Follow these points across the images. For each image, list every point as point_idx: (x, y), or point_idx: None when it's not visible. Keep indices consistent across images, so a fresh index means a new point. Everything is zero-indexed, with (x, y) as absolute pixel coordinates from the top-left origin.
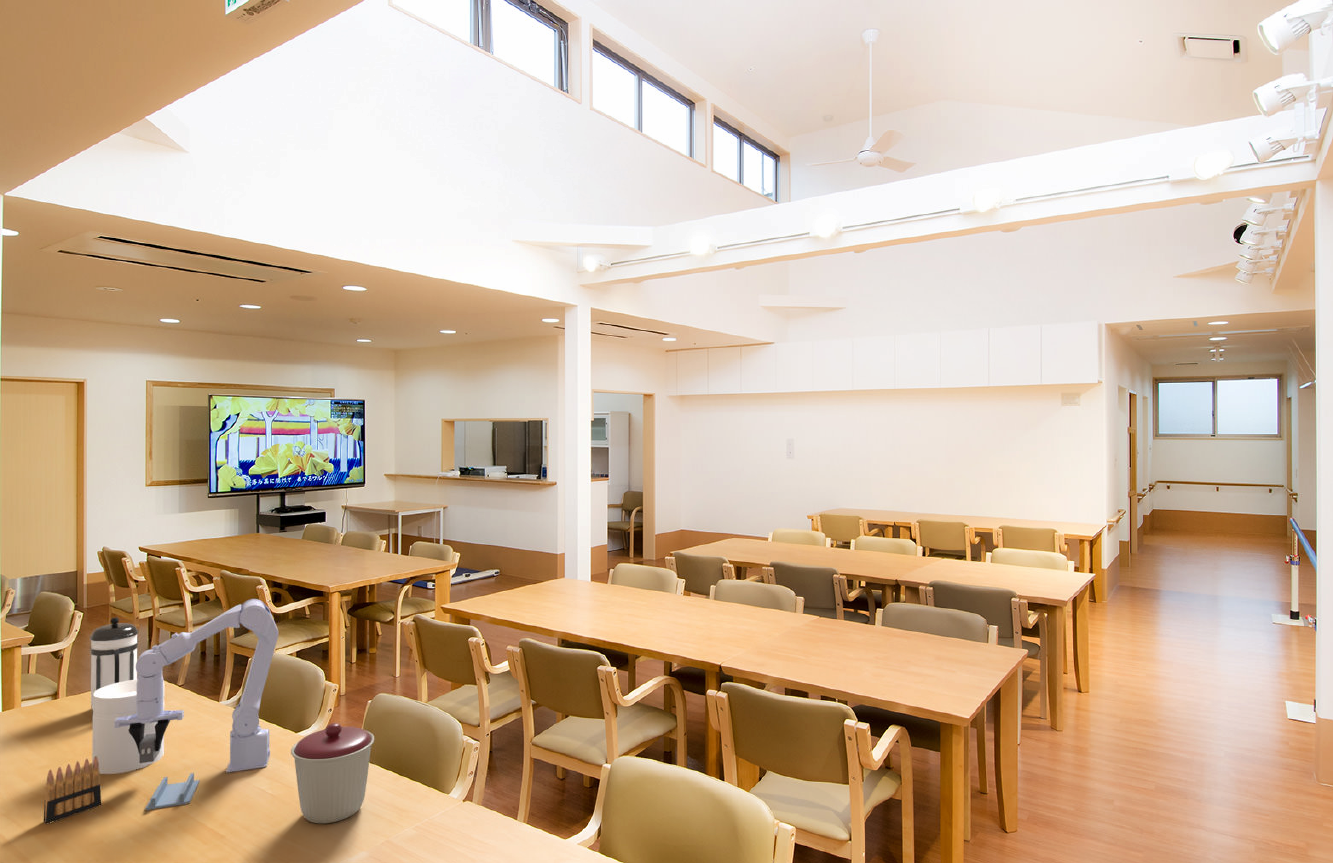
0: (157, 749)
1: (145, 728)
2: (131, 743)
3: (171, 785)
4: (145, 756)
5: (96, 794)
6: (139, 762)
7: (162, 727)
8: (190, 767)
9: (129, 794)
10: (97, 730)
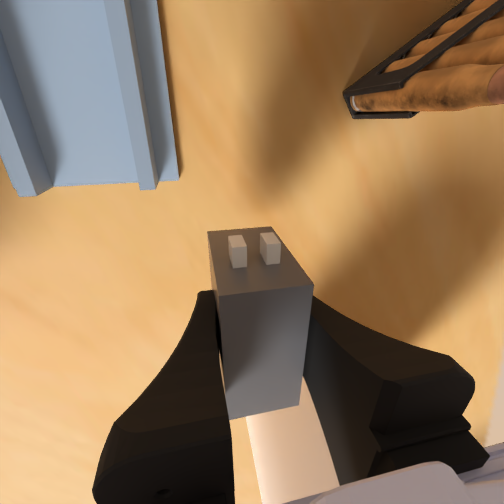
0: (203, 294)
1: (313, 470)
2: None
3: (123, 167)
4: (251, 242)
5: (386, 77)
6: (272, 228)
7: (138, 427)
8: (131, 322)
9: (267, 160)
10: None
